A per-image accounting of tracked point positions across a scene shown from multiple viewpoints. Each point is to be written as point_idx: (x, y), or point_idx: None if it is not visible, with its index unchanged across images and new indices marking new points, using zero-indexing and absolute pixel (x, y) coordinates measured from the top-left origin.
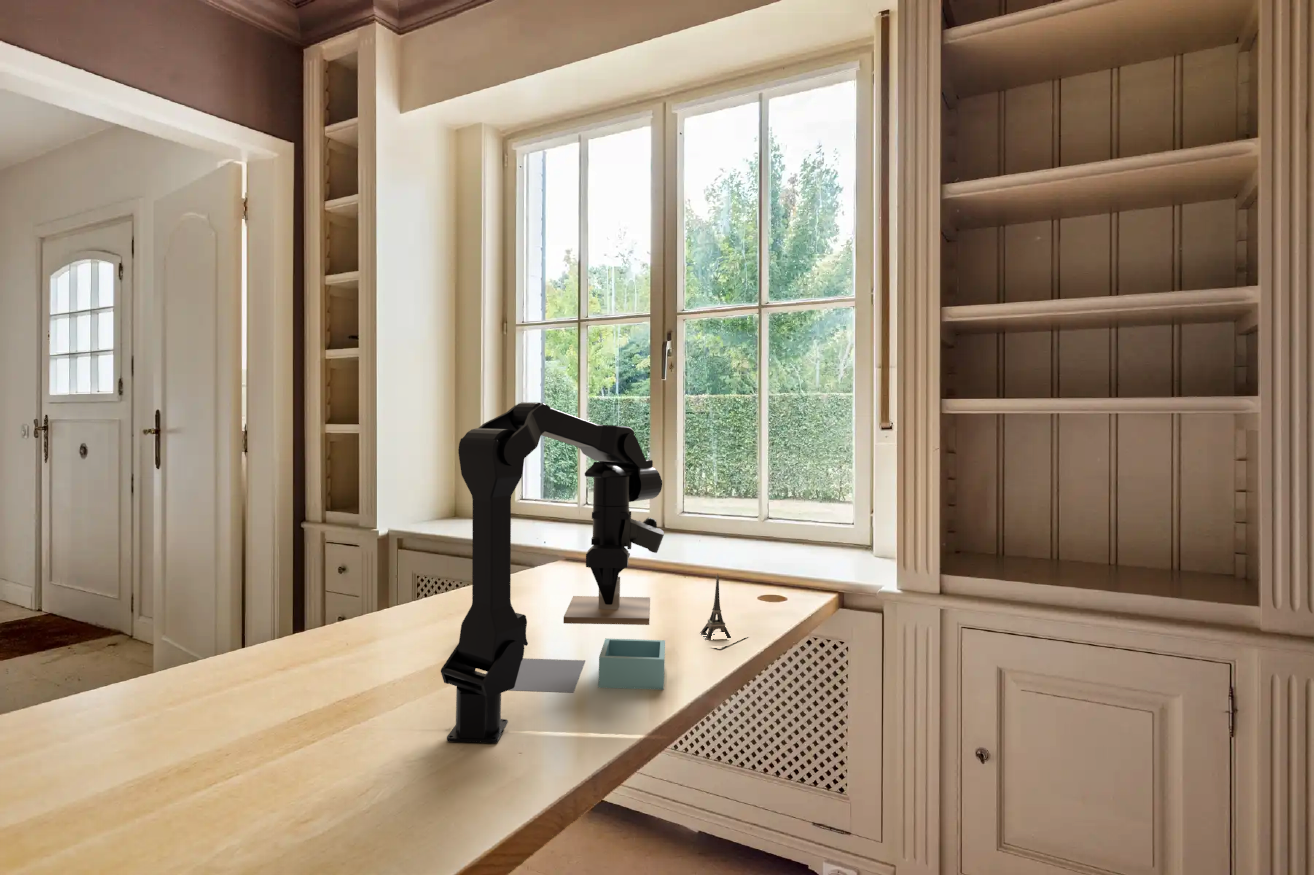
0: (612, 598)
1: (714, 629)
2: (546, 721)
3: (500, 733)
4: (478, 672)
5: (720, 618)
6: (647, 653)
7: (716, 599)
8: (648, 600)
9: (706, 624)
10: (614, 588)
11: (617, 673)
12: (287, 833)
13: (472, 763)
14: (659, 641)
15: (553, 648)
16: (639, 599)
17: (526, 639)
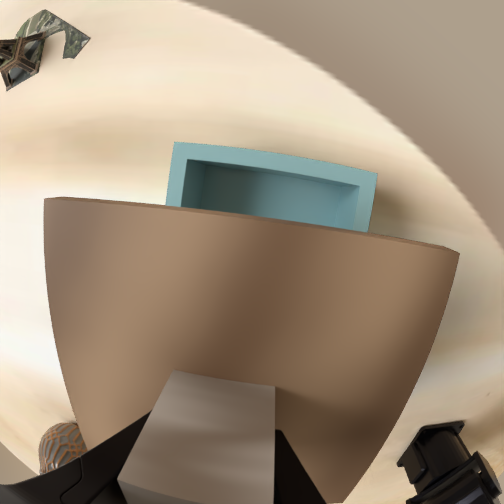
0: (292, 451)
1: (23, 55)
2: (431, 388)
3: (454, 425)
4: (423, 496)
5: (8, 42)
6: (191, 199)
7: None
8: (91, 211)
9: (2, 74)
10: (319, 493)
11: None
12: (497, 467)
13: (484, 424)
14: (186, 161)
15: None
16: (78, 258)
17: (482, 492)
